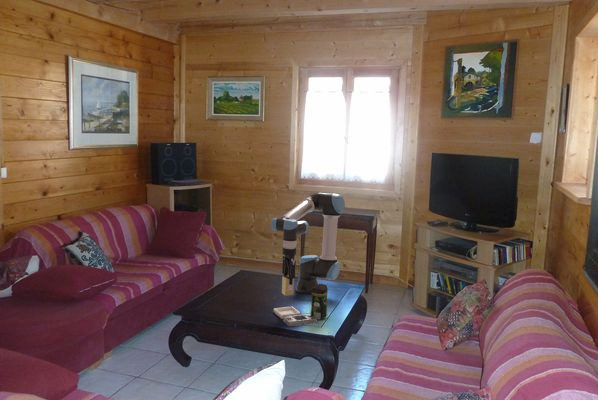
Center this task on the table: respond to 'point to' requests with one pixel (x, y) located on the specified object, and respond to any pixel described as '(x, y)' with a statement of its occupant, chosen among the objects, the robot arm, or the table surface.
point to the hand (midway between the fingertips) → (287, 288)
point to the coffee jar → (319, 301)
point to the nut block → (285, 285)
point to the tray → (286, 312)
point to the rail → (299, 319)
